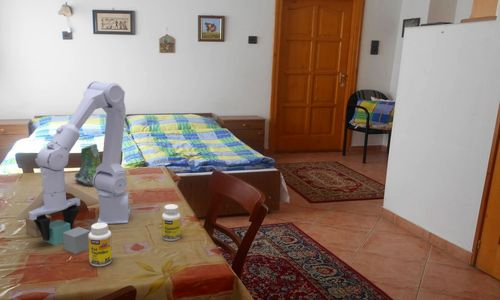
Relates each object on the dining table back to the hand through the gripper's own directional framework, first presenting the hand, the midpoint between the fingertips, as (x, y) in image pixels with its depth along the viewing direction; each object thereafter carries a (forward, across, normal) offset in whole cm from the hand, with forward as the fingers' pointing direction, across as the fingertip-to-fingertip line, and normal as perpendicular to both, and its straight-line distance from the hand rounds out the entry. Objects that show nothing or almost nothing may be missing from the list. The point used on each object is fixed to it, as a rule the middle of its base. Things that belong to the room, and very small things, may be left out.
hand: (57, 235), depth 121 cm
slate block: (+2, 0, +9) cm, 9 cm away
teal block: (+2, 0, 0) cm, 2 cm away
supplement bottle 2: (+2, -20, +25) cm, 32 cm away
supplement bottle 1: (+2, +1, +20) cm, 21 cm away
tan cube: (+2, 0, -9) cm, 9 cm away
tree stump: (+2, -44, -37) cm, 58 cm away
